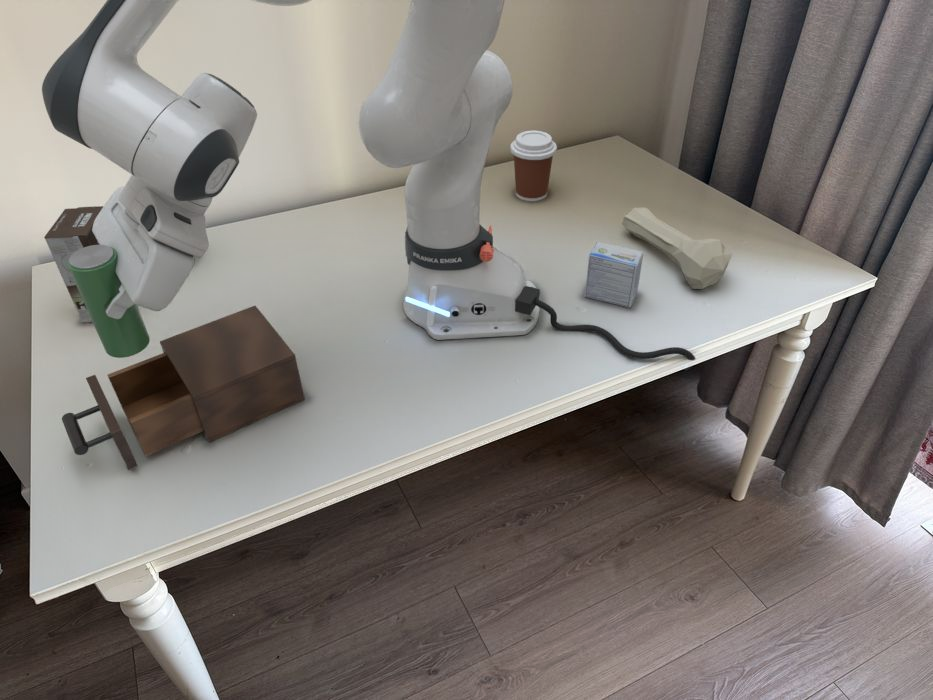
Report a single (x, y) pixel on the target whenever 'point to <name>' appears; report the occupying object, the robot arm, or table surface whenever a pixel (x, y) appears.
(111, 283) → the green can
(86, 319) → the coffee box
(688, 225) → the table surface
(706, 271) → the faceted club
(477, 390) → the table surface
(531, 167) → the coffee cup
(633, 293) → the medicine box
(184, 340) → the cabinet
